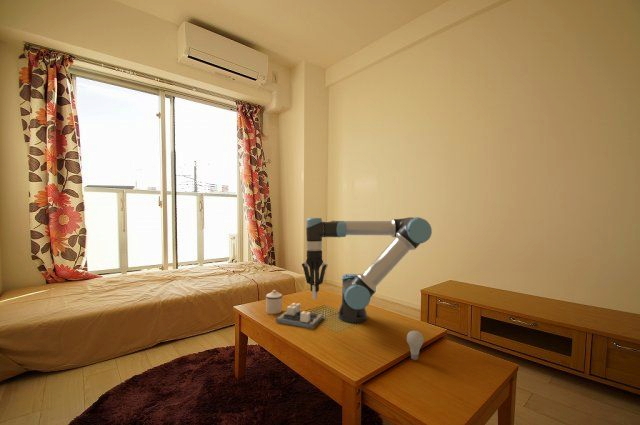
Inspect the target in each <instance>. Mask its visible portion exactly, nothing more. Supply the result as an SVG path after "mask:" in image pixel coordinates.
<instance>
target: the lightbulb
mask: <svg viewBox="0 0 640 425" xmlns="http://www.w3.org/2000/svg"><path fill="white" fill-rule="evenodd" d="M424 341H425V340H424V337H423V334H422V333H421V332H419V331H418V330H410V331H409V332H408V333H407V335H406V342H407V344H408V346H409V349H410V359H412V360H413V361H417V360H418V359H419V355H420V350H421V348H422V347H423V344H424Z"/></svg>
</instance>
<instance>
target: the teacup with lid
mask: <svg viewBox="0 0 640 425" xmlns="http://www.w3.org/2000/svg"><path fill="white" fill-rule="evenodd" d="M282 301H283V294H282V293H280V292H278V291H277V290H276V289H273V290H272V291H271V292H270V293H269V292H268V293H267V294H266V296H265V313H267V314H270V315H277V314H280V313H281V312H282V309H283V306H282V304H283V302H282Z"/></svg>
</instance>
